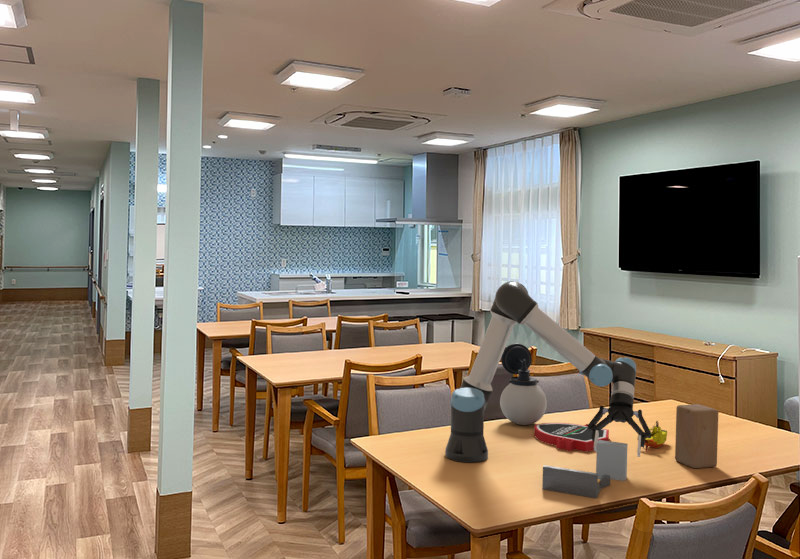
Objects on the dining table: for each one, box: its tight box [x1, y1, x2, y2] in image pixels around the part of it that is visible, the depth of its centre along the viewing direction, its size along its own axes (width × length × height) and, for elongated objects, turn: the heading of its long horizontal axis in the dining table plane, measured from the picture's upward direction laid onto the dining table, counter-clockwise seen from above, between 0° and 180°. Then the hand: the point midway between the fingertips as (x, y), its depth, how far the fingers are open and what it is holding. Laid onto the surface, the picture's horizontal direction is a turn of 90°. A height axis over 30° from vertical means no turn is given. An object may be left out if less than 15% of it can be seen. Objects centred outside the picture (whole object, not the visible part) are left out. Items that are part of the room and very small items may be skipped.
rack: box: [541, 464, 611, 499], centre depth 199 cm, size 14×20×7 cm
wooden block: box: [674, 403, 719, 469], centre depth 223 cm, size 10×10×20 cm
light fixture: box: [499, 343, 548, 426], centre depth 276 cm, size 20×23×33 cm
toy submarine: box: [637, 420, 668, 452], centre depth 244 cm, size 6×18×10 cm, turn 135°
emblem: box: [533, 422, 610, 452], centre depth 253 cm, size 30×4×30 cm
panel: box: [595, 440, 628, 482], centre depth 209 cm, size 4×9×11 cm, turn 64°
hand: (616, 452), depth 210 cm, fingers open, 13 cm apart
